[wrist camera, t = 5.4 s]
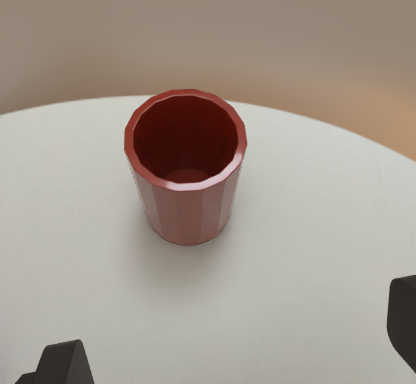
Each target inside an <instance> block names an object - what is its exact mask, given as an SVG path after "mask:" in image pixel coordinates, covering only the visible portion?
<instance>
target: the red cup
mask: <svg viewBox="0 0 416 384" xmlns="http://www.w3.org/2000/svg"><path fill="white" fill-rule="evenodd" d="M246 148H247V138H246V132H245V125H244V123H243V121H242V120H241V118H240V117H239V115H238V114H237V112H236V111H235V109H234V108H233V107H232V106H231V105H229V104H228V103H226V102H225V101H224V100H222V99H221V98H219V97H218V96H216V95H214V94H210V93H207V92H203V91H199V90H196V89H180V90H170V91H167V92H164V93H161V94H159V95H156V96H153V97H151V98H149V99H148V100H147V101H146V102H145V103H143V104H142V105H141V106H140V107H139V108H137V109H136V110H135V111H134V113H133V114H132V116H131V118H130V120H129V122H128V124H127V126H126V128H125V135H124V150H125V154H126V157H127V160H128V163H129V166H130V169H131V172H132V175H133V178H134V181H135V184H136V187H137V190H138V194H139V197H140V200H141V203H142V206H143V209H144V212H145V214H146V216H147V219H148V221H149V223H150V225H151V227H152V228H153V230H154V231H155V232H156V233H157V234H158V235H159V236H161V237H162V238H163V239H165V240H167V241H169V242H171V243H174V244H178V245H185V246H191V245H198V244H201V243H204V242H207V241H209V240H210V239H212V238H214V237H215V236H216V235H218V234H219V233H220V232H221V230H222V229H223V228H224V226H225V225H226V223H227V221H228V218H229V215H230V212H231V209H232V205H233V201H234V197H235V193H236V189H237V184H238V180H239V176H240V172H241V168H242V164H243V160H244V156H245V152H246Z"/></svg>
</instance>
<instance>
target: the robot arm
mask: <svg viewBox="0 0 416 384" xmlns="http://www.w3.org/2000/svg"><path fill="white" fill-rule="evenodd" d="M387 332H388V336H389V339H390V341H391V343H392V345H393V347H394V348H395V350H396V351H397V352H398V354H399V355H400V356H401V357H402V358H403V359H404V360H405V362H406V363H407V364H408V365H409V366H410V367H411V368H412V370H413V371H414V372H415V373H416V275H411V276H406V277H401V278H396V279H393V280H392V282H391V284H390V291H389V303H388V315H387ZM15 384H94V381H93V377H92V374H91V370H90V367H89V363H88V360H87V356H86V353H85V349H84V346H83V343H82V342H81V340H73V341H68V342H63V343H58V344H53V345H48V346H46V347H45V349H44V351H43V353H42V356H41V358H40V361H39V364H38V367H37V369H36V372H32V373H27V374H23V375H22V376H21V377H20V378H19V379H18V381H17V382H16V383H15Z"/></svg>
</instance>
